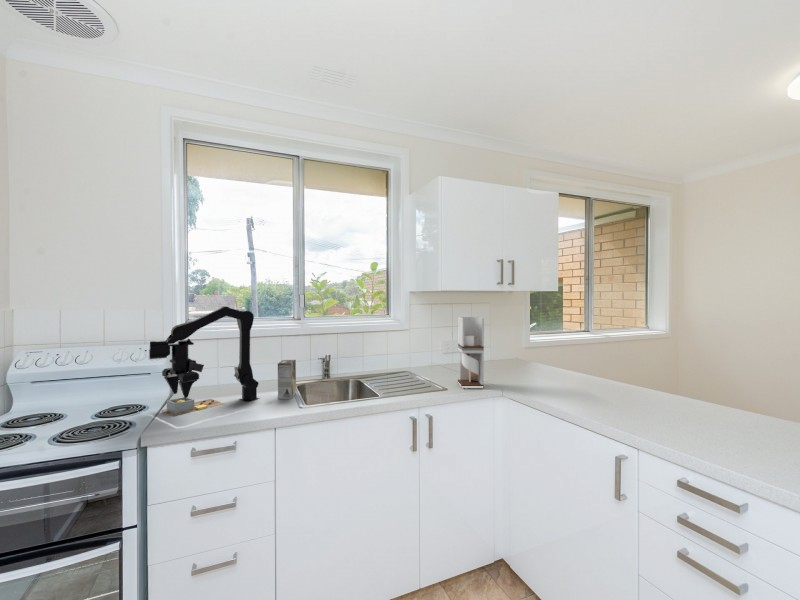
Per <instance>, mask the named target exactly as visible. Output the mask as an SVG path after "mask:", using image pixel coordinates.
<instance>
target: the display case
mask: <svg viewBox="0 0 800 600" xmlns="http://www.w3.org/2000/svg"><path fill="white" fill-rule="evenodd" d="M484 340H485V318H484V317H479V316H458V317H457V350H458V351H459V379H457V383H458V382H459V383H460V384H461V386H485V385H484V384H485V383H484V382H485V381H484V374H485V373H484V372H485V371H484V367H485V363H484V361H485V360H484V359H485V357H484V355H485V353H484V352H485V345H484V343H485V341H484Z"/></svg>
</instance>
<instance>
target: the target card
mask: <svg viewBox="0 0 800 600" xmlns="http://www.w3.org/2000/svg"><path fill="white" fill-rule="evenodd" d="M205 408H206V409H209V408H208V406H207V405H204V404H203V405H198V406H194V409H197V410H198V411H202V410H205ZM201 409H202V410H201Z"/></svg>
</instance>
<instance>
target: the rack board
mask: <svg viewBox="0 0 800 600" xmlns="http://www.w3.org/2000/svg"><path fill="white" fill-rule="evenodd" d="M203 404H204V405H207V406H208V408H205V409H210V408H213V407H217V406H222V405H225V403H224V402H221V401H218V400H215V399H212V398H209V399H204V400H201V401H196V402H195V401H194V406H198V405H203ZM205 409H204V410H205ZM202 410H203V409H201V410H200V411H202ZM160 411H161V412H163V413H164V414H168V415H170V416H172V417H177V416H178V417H179V416H182V415H187V414H189V413H193V412H197V411H199V410H197V409H194V410H190V411H186V412H182V413H178V414H174V413H171V412H169V411H167V408H165V409H161V410H160Z"/></svg>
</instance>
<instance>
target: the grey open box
mask: <svg viewBox="0 0 800 600" xmlns="http://www.w3.org/2000/svg"><path fill="white" fill-rule="evenodd" d="M179 400H184V402H179V403H176V402H177V401H179ZM194 403H195V399H193V398H190V397H189V396H188V397H187V398H184V396H181V397H178V398H173V399H169V400H166V409H167V411H169V412H171V413H174V414H178V413H182V412H186V411H190V410H194Z"/></svg>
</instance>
